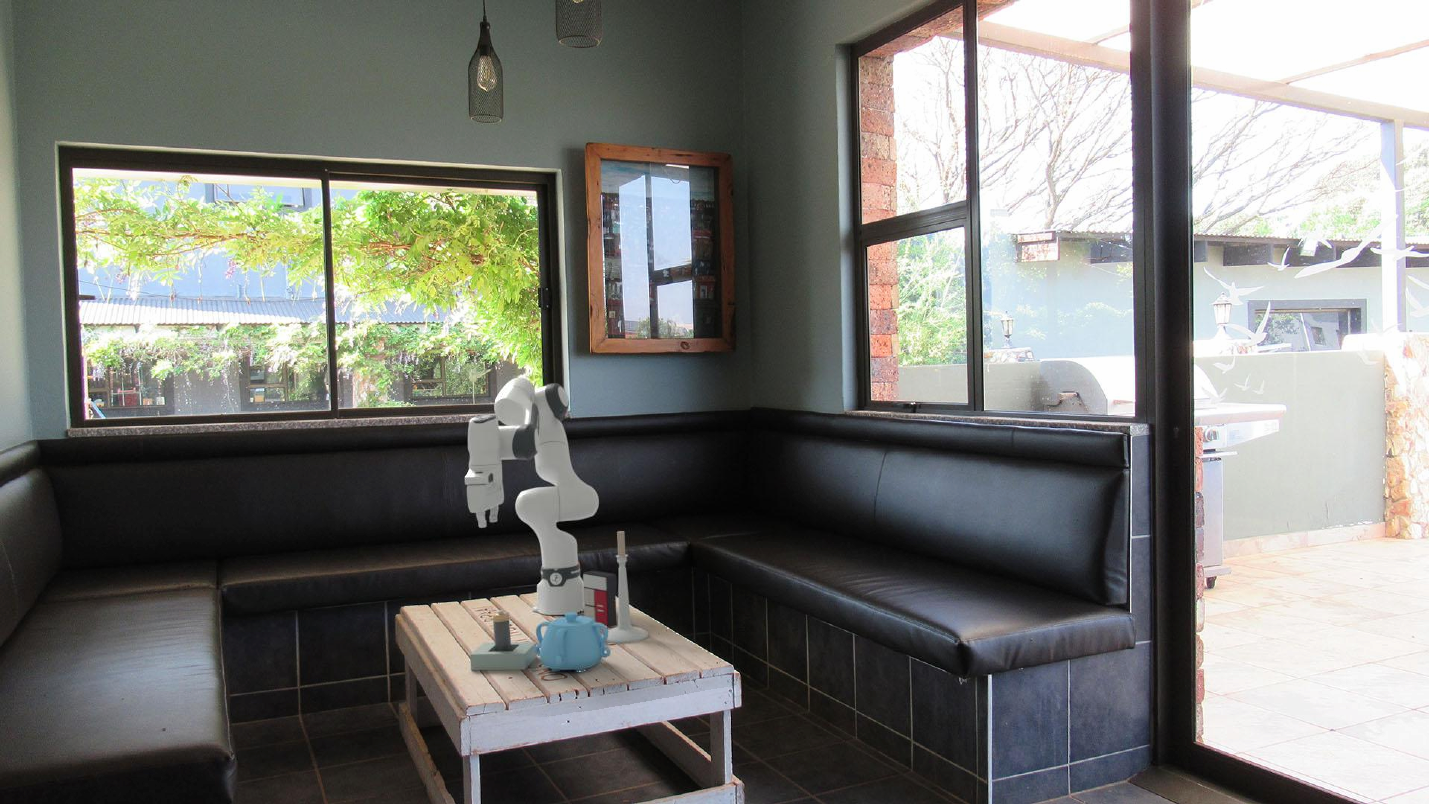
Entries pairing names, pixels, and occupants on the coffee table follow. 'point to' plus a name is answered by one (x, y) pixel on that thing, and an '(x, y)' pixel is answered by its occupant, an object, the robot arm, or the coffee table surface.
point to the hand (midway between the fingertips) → (488, 524)
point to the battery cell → (502, 631)
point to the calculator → (600, 597)
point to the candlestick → (624, 604)
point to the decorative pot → (572, 643)
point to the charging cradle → (503, 657)
